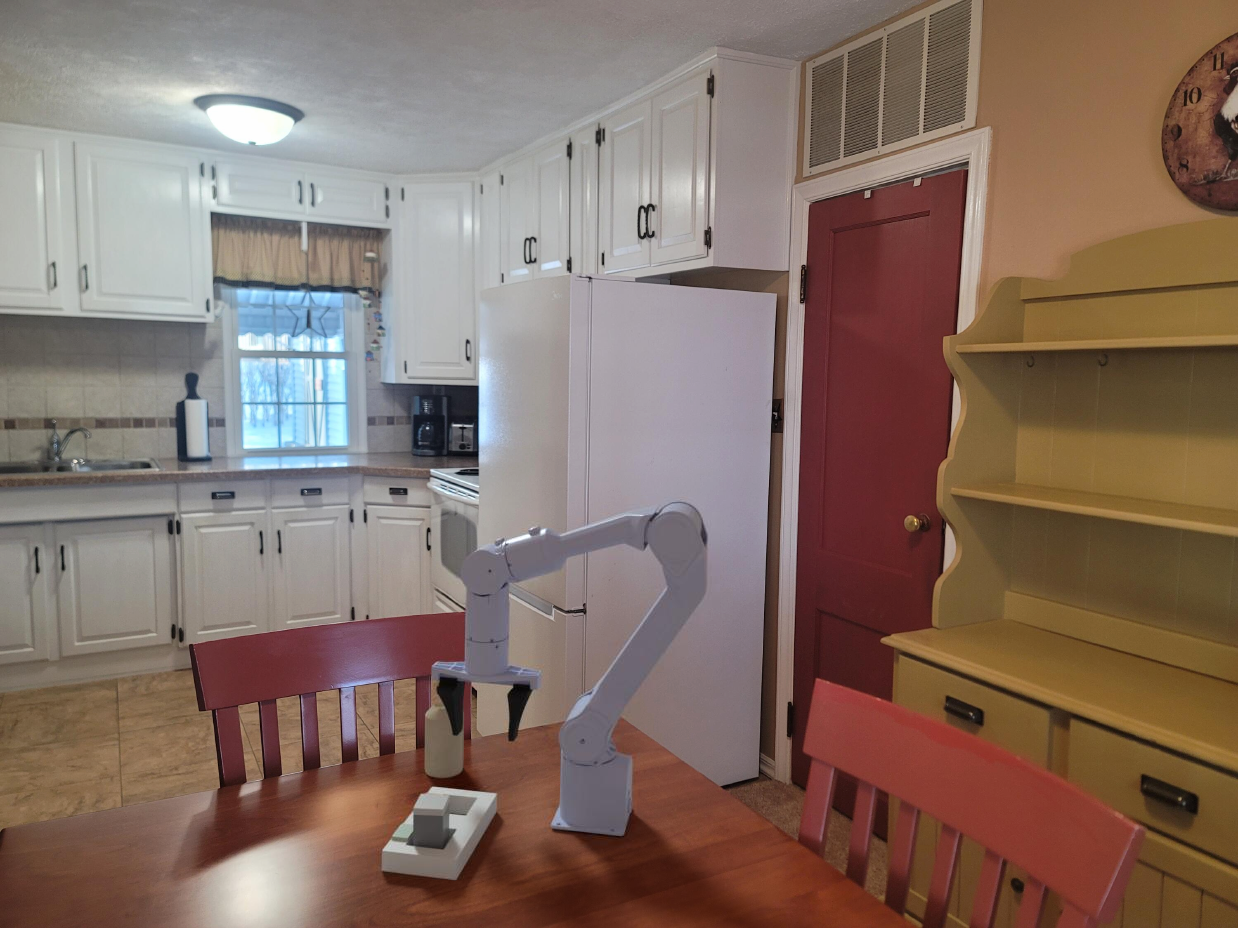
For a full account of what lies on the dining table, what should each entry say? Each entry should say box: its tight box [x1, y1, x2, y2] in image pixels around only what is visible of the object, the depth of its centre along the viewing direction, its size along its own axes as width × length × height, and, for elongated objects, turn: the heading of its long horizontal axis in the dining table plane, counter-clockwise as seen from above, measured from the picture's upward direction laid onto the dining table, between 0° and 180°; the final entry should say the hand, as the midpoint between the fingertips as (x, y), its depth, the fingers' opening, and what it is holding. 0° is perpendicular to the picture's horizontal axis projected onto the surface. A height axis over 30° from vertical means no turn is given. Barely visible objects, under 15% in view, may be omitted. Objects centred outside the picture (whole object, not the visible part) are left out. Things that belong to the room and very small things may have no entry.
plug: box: [412, 793, 450, 850], centre depth 104 cm, size 4×4×7 cm
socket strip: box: [381, 786, 498, 881], centre depth 108 cm, size 9×16×3 cm, turn 171°
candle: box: [424, 700, 465, 779], centre depth 126 cm, size 6×6×10 cm
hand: (485, 735), depth 116 cm, fingers open, 7 cm apart
